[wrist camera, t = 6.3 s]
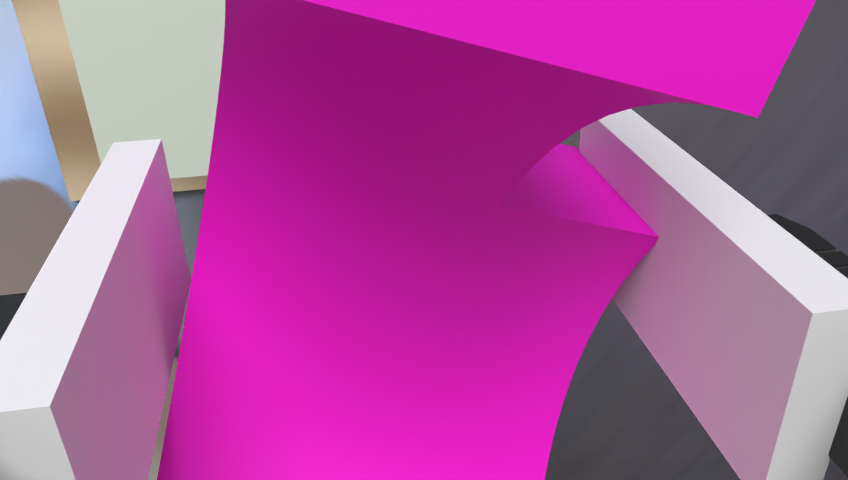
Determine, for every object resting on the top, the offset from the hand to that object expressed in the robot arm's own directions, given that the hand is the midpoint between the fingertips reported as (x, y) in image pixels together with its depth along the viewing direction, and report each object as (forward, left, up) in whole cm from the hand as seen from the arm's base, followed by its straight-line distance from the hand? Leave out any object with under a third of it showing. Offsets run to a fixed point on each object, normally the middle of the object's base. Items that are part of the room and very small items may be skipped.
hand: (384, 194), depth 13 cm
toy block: (-1, 0, 0) cm, 1 cm away
